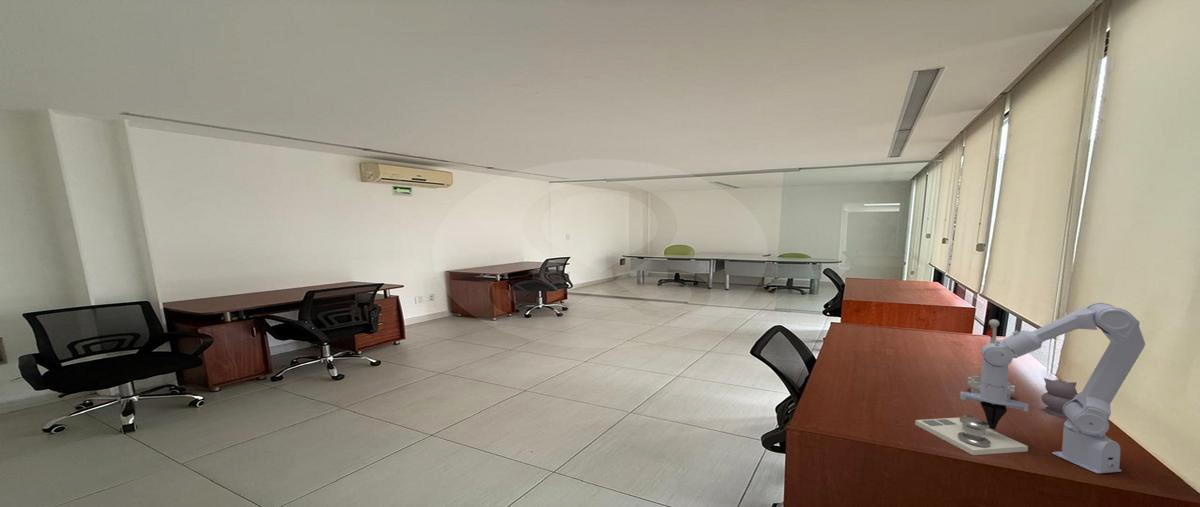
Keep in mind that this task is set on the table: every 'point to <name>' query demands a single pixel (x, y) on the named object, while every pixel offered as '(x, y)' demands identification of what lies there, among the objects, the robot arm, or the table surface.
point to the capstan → (974, 431)
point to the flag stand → (975, 380)
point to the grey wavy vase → (1058, 396)
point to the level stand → (949, 433)
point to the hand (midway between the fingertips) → (991, 427)
